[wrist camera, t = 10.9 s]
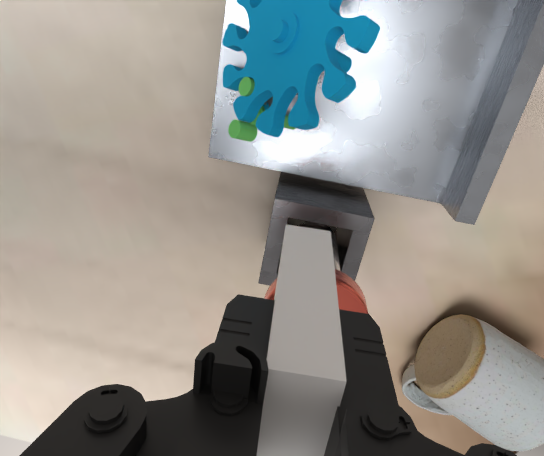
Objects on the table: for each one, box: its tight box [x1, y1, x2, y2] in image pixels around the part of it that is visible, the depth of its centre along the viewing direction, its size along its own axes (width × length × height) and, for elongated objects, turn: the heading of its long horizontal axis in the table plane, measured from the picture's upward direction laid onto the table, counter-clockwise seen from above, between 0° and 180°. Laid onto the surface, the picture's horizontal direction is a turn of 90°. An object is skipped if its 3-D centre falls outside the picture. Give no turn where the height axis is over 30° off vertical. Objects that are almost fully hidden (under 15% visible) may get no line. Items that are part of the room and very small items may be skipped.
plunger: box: [264, 221, 368, 314], centre depth 23 cm, size 5×5×9 cm
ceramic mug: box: [402, 314, 544, 451], centre depth 32 cm, size 11×8×8 cm
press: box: [208, 0, 544, 285], centre depth 21 cm, size 18×22×14 cm
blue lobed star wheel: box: [222, 0, 380, 142], centre depth 22 cm, size 11×6×10 cm
